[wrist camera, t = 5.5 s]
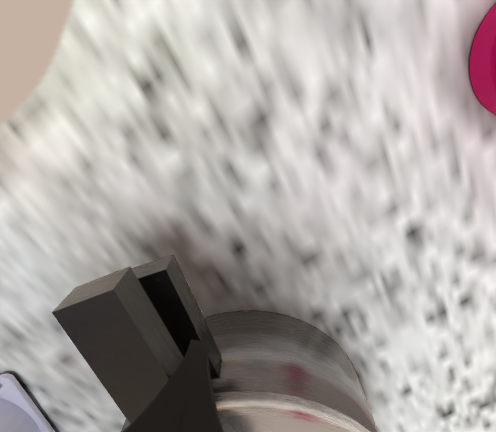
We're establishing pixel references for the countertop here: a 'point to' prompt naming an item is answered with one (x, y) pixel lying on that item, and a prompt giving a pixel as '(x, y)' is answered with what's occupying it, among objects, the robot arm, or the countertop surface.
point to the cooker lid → (168, 361)
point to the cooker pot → (256, 347)
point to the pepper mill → (485, 62)
